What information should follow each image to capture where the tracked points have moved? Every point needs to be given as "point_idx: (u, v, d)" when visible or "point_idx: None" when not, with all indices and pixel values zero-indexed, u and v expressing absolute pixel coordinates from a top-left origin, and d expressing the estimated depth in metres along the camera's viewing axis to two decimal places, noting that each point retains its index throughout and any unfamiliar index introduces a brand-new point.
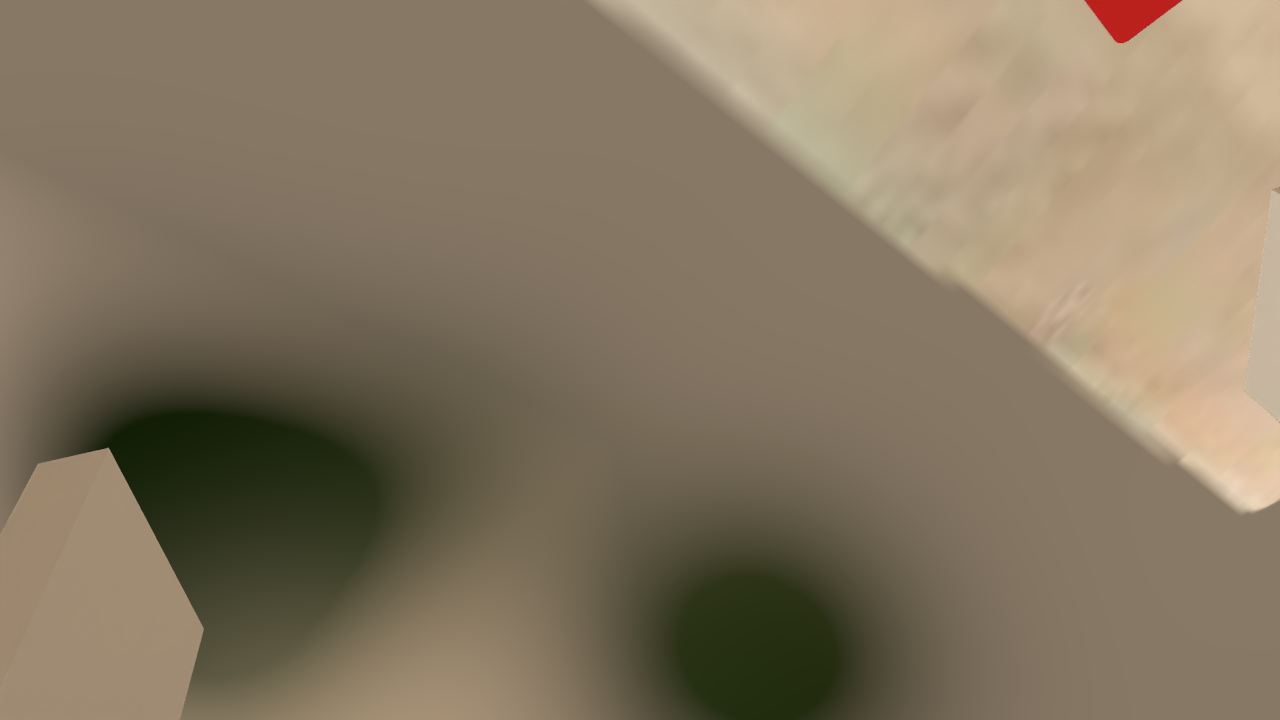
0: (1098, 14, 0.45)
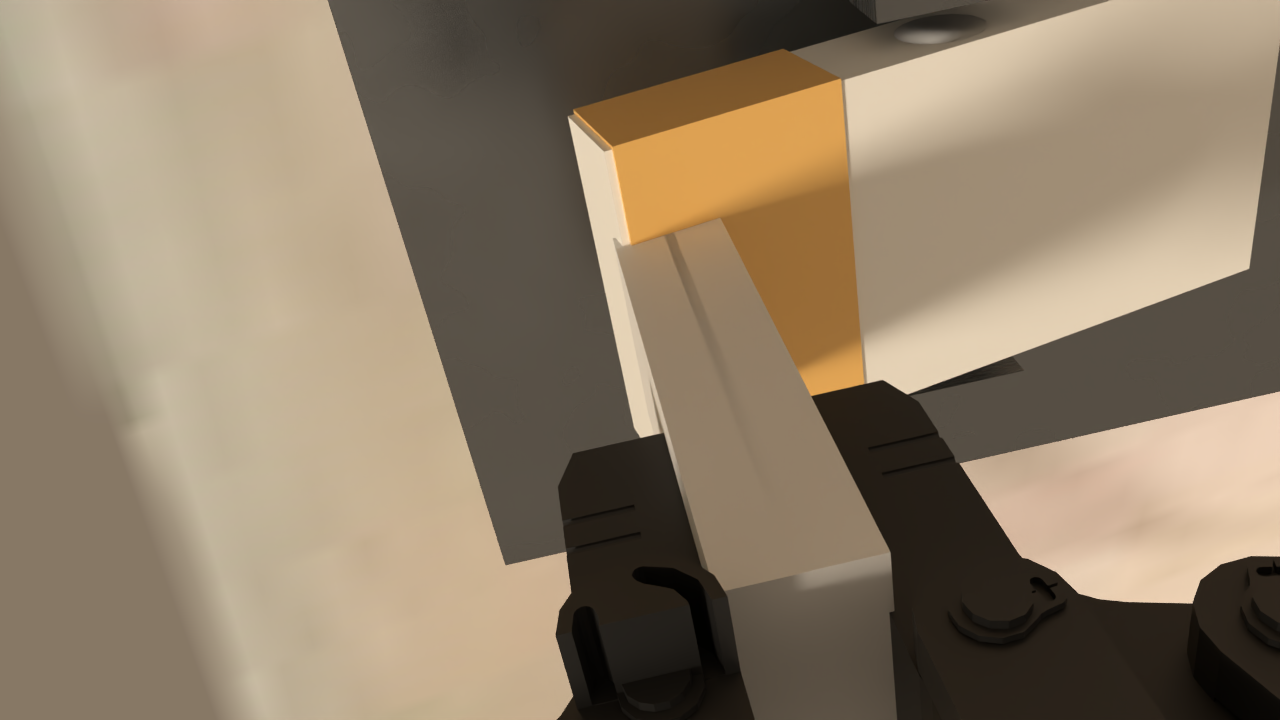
0: None
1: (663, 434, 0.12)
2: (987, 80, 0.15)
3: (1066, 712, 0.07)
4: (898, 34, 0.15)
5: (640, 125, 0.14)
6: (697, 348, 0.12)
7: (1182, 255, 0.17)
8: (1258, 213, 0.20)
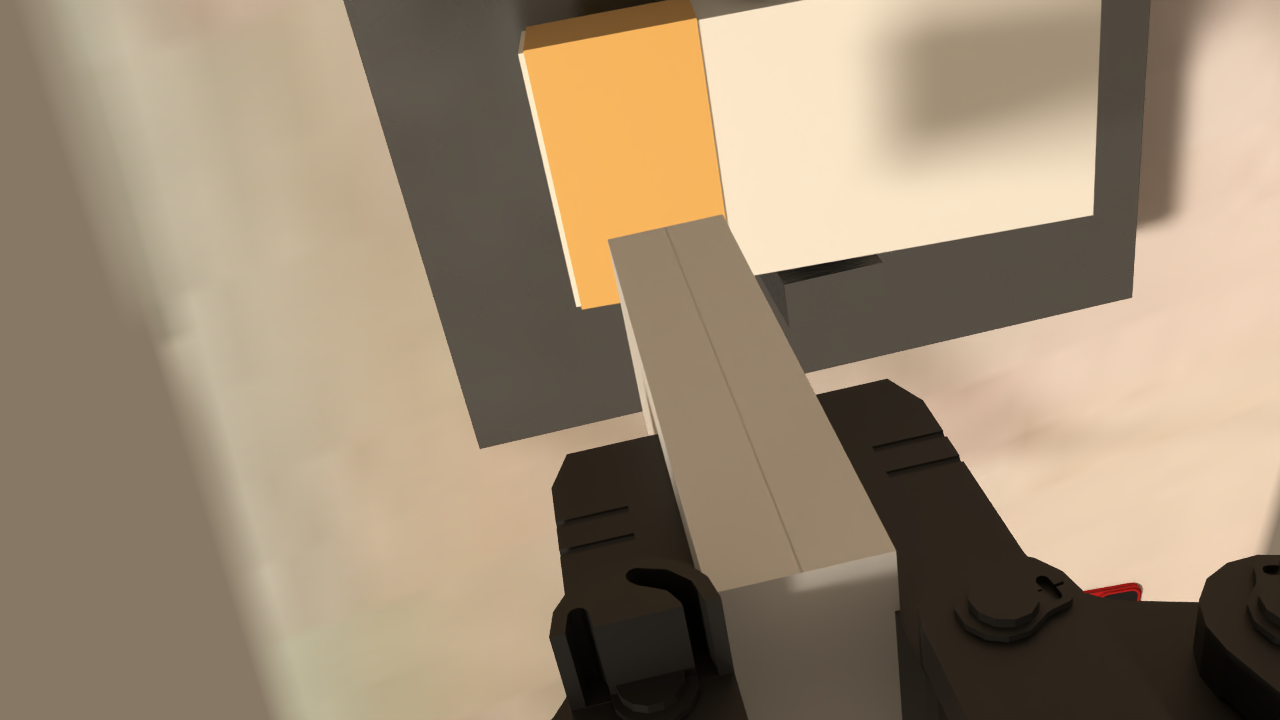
0: None
1: (657, 435, 0.12)
2: (822, 30, 0.19)
3: (1072, 711, 0.07)
4: None
5: (551, 39, 0.19)
6: (691, 349, 0.12)
7: (1022, 194, 0.21)
8: None
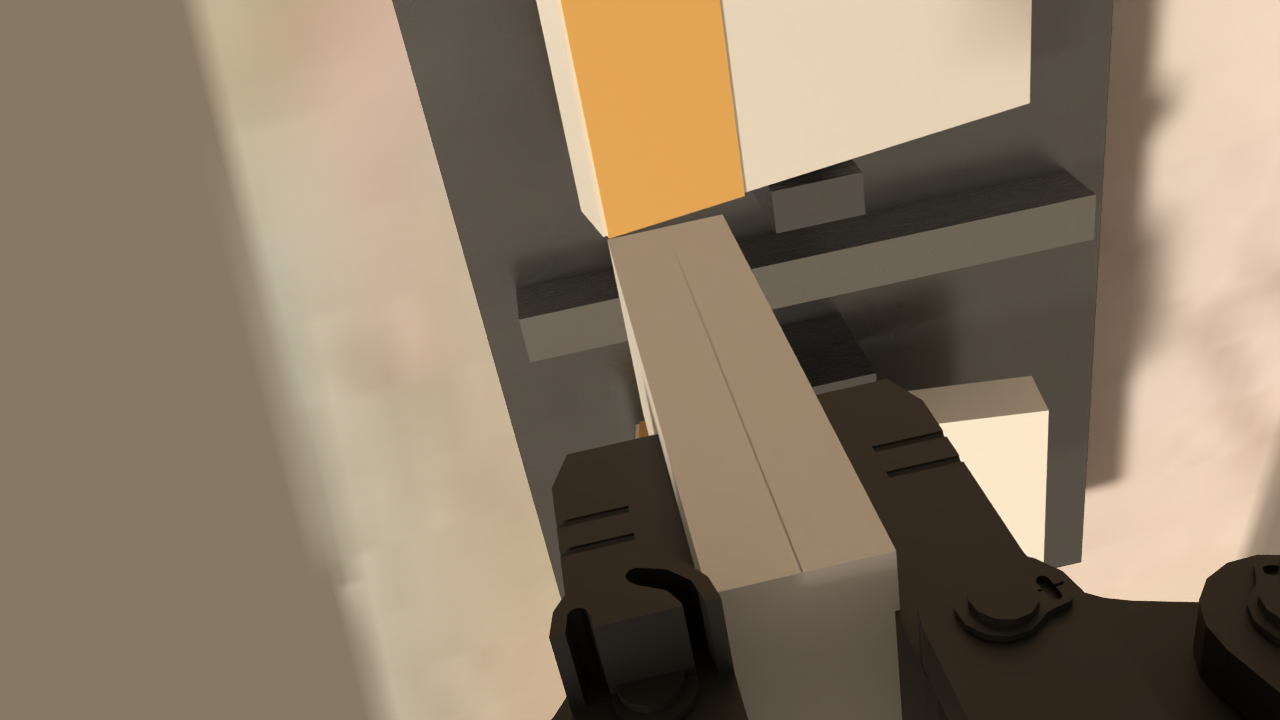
0: None
1: (657, 435, 0.12)
2: None
3: (1072, 710, 0.07)
4: None
5: None
6: (691, 349, 0.12)
7: None
8: None
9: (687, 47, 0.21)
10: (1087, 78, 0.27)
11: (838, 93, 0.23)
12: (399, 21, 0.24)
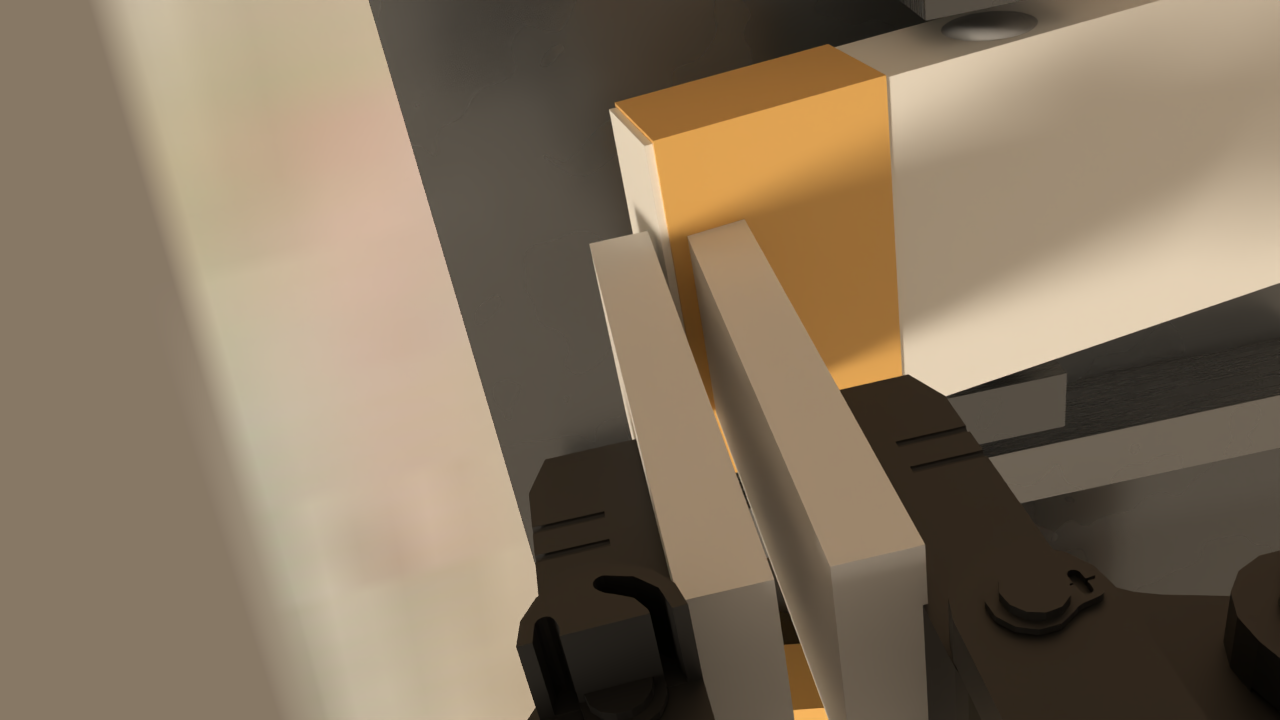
0: None
1: (635, 440, 0.12)
2: None
3: (1103, 704, 0.07)
4: None
5: None
6: (669, 354, 0.12)
7: None
8: None
9: (837, 223, 0.14)
10: None
11: (1045, 275, 0.16)
12: (417, 158, 0.17)
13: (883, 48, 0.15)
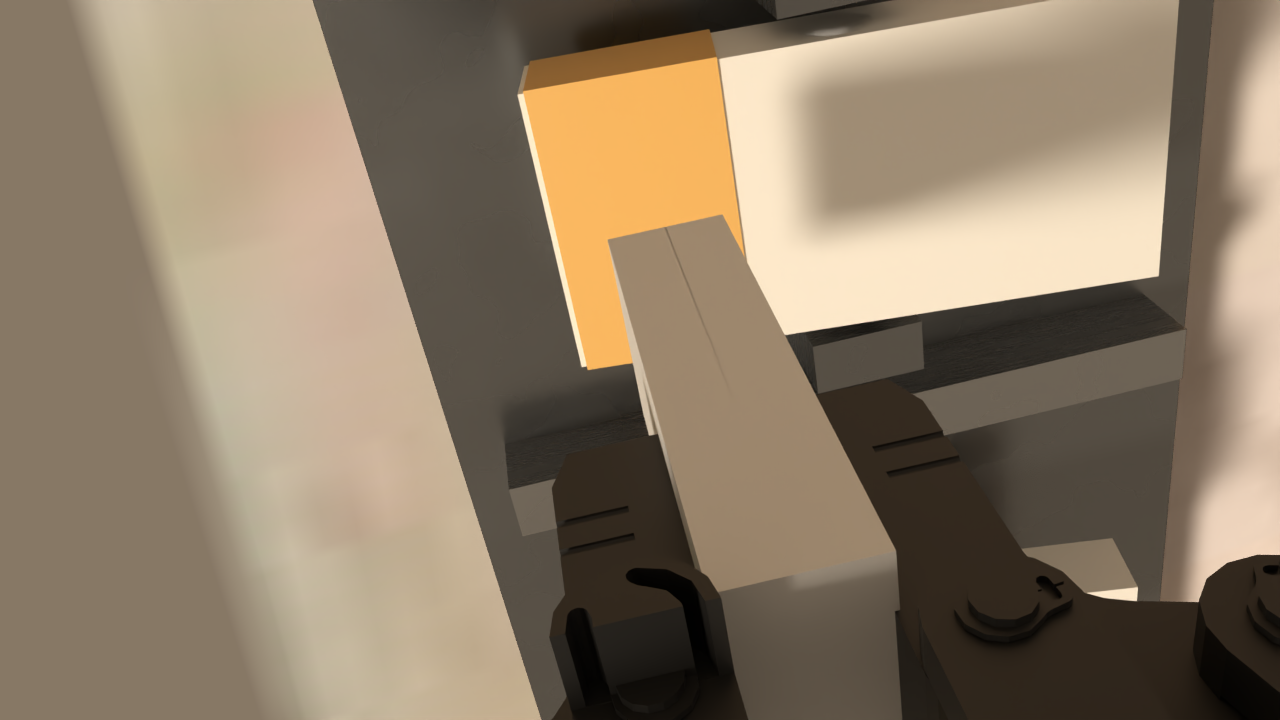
0: None
1: (657, 435, 0.12)
2: None
3: (1072, 711, 0.07)
4: None
5: None
6: (691, 349, 0.12)
7: None
8: None
9: (683, 173, 0.18)
10: (1172, 192, 0.23)
11: (883, 241, 0.19)
12: (361, 147, 0.20)
13: (743, 36, 0.18)
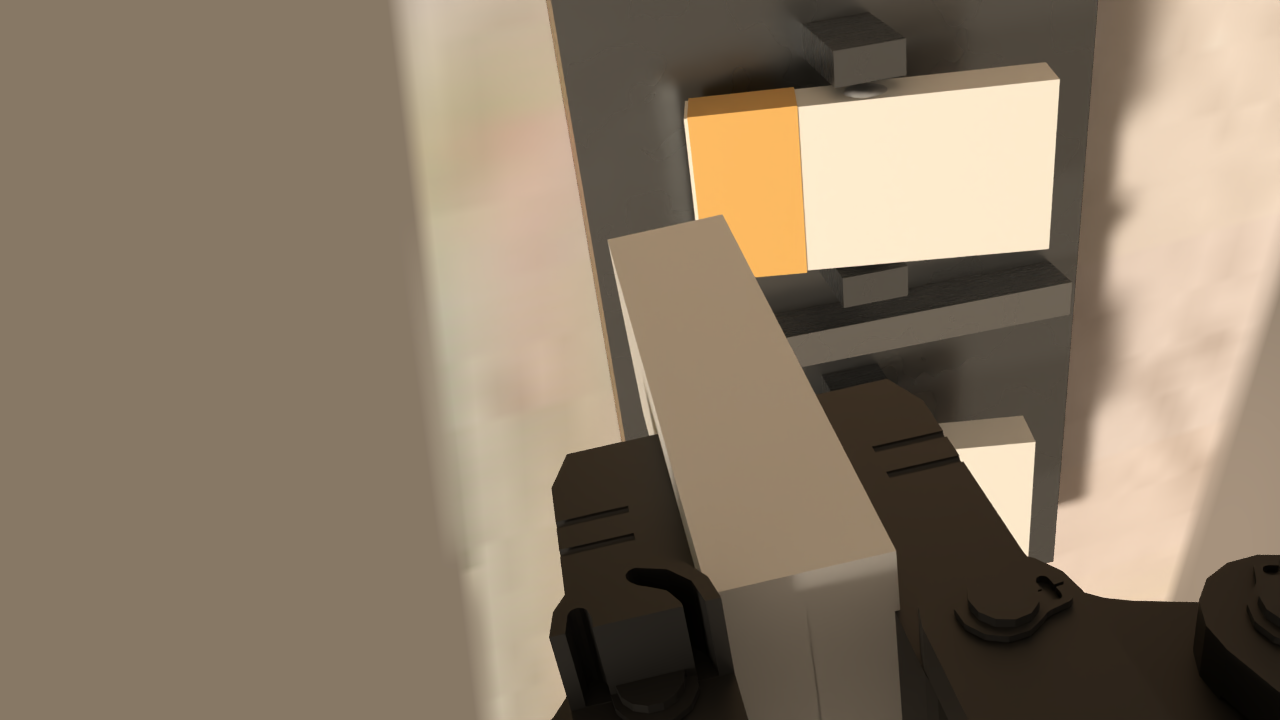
0: None
1: (657, 435, 0.12)
2: None
3: (1072, 711, 0.07)
4: None
5: None
6: (691, 349, 0.12)
7: None
8: None
9: (772, 169, 0.31)
10: (1066, 196, 0.36)
11: (886, 216, 0.32)
12: (576, 148, 0.33)
13: (813, 93, 0.31)
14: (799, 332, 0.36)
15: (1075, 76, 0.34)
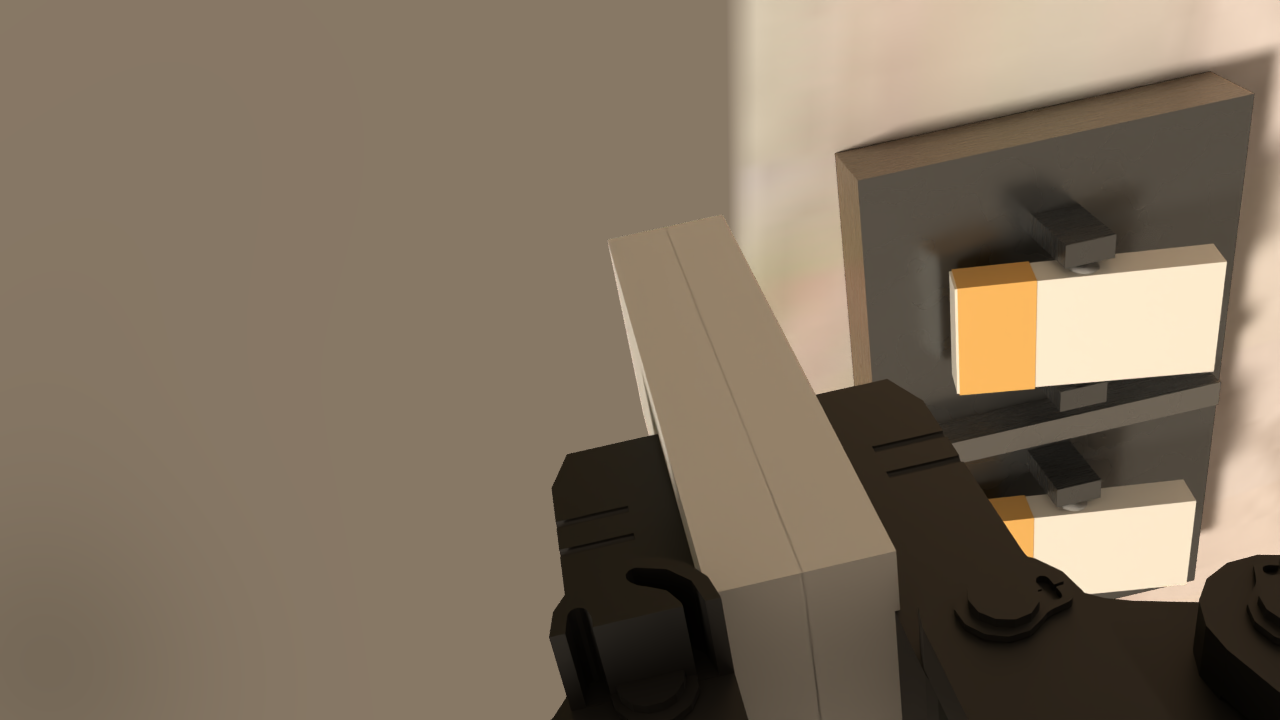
0: None
1: (657, 435, 0.12)
2: (1082, 522, 0.50)
3: (1072, 711, 0.07)
4: None
5: None
6: (691, 349, 0.12)
7: (1156, 576, 0.51)
8: None
9: (1015, 321, 0.45)
10: None
11: (1095, 351, 0.45)
12: (867, 304, 0.46)
13: (1045, 267, 0.44)
14: (1019, 425, 0.49)
15: (1224, 236, 0.47)
